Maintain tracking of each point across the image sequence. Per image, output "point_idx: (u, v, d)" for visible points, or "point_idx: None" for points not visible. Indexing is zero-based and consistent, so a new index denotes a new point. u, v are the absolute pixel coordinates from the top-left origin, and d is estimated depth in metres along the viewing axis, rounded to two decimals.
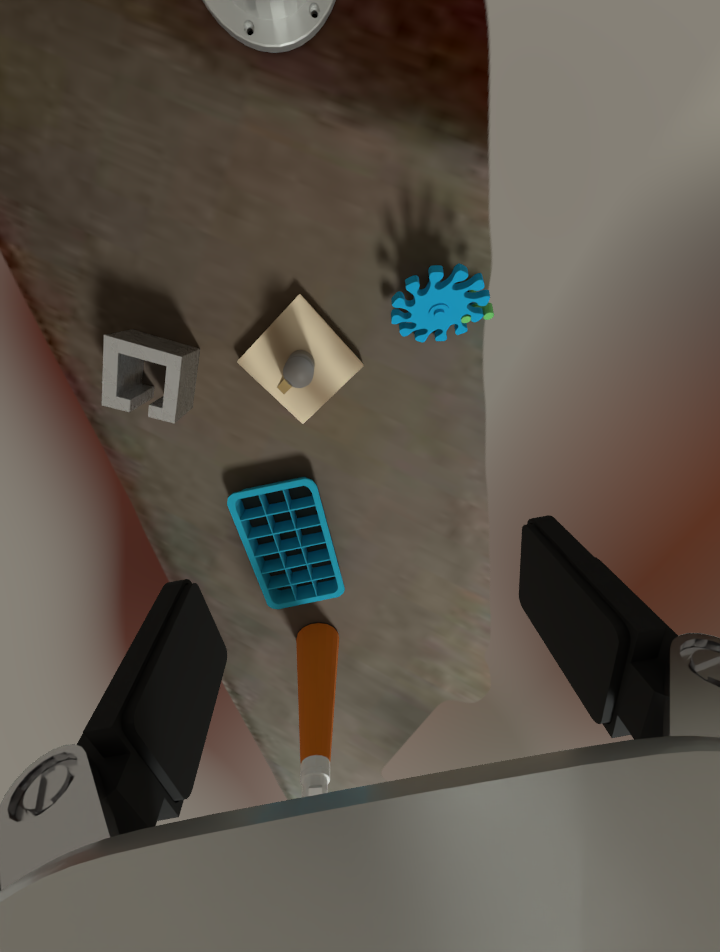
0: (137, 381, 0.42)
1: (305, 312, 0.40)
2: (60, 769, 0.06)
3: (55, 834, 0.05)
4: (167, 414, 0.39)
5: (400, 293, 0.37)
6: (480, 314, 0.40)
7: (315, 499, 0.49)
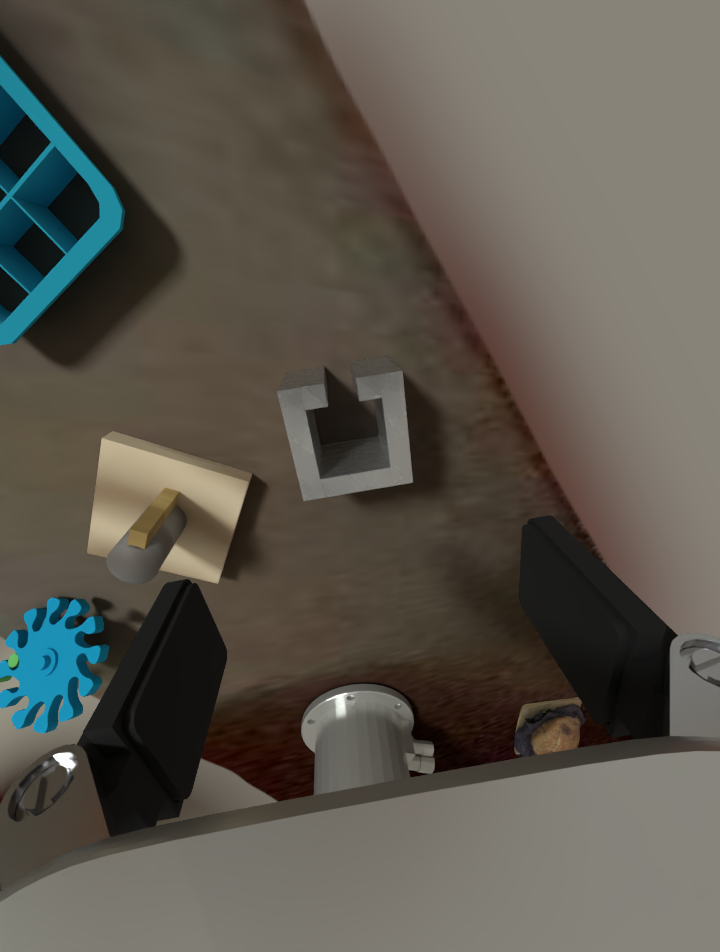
0: None
1: (199, 570, 0.31)
2: (60, 769, 0.06)
3: (55, 834, 0.05)
4: (294, 402, 0.21)
5: None
6: (0, 675, 0.31)
7: None
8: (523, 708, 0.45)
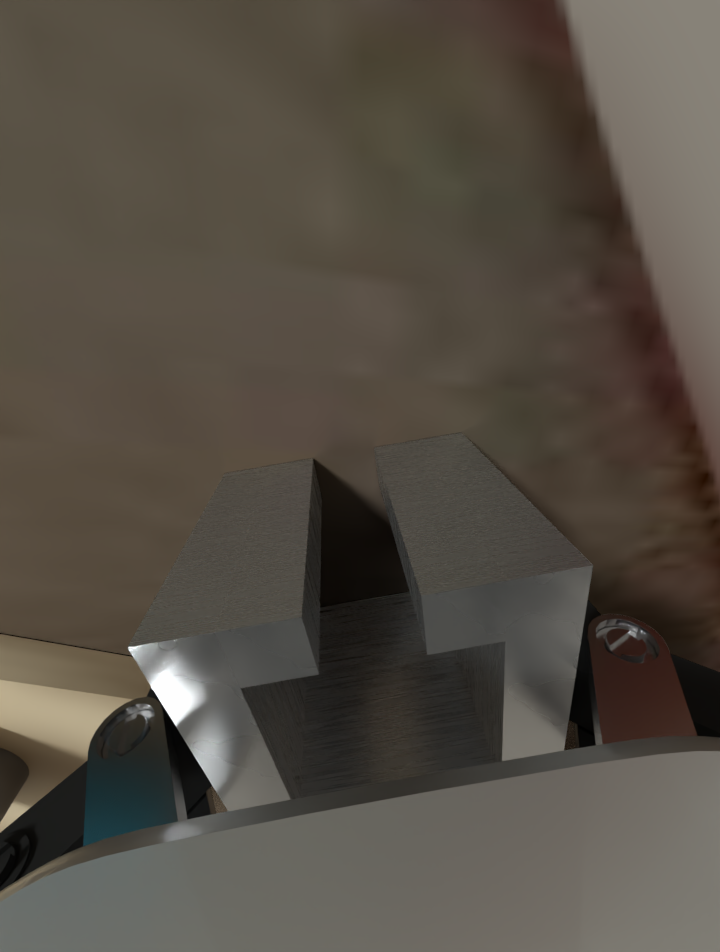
0: None
1: None
2: (140, 718, 0.07)
3: (130, 779, 0.06)
4: (197, 672, 0.06)
5: None
6: None
7: None
8: None
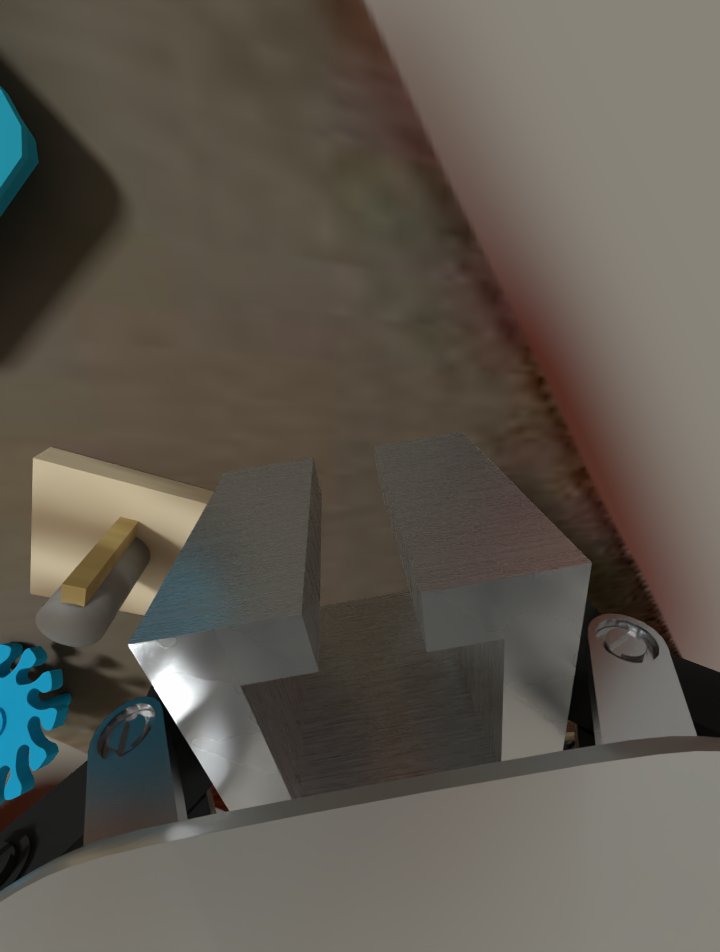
0: None
1: None
2: (140, 718, 0.07)
3: (131, 779, 0.06)
4: (197, 669, 0.06)
5: (56, 726, 0.25)
6: None
7: None
8: None
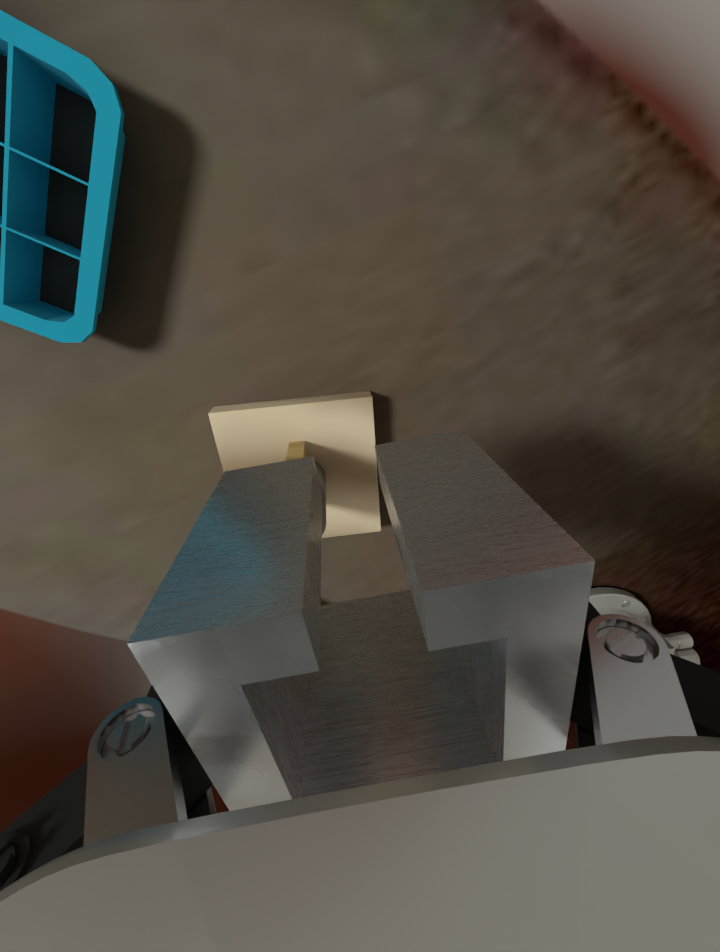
0: None
1: (357, 524, 0.27)
2: (140, 718, 0.07)
3: (131, 779, 0.06)
4: (197, 669, 0.06)
5: None
6: None
7: (20, 315, 0.19)
8: None
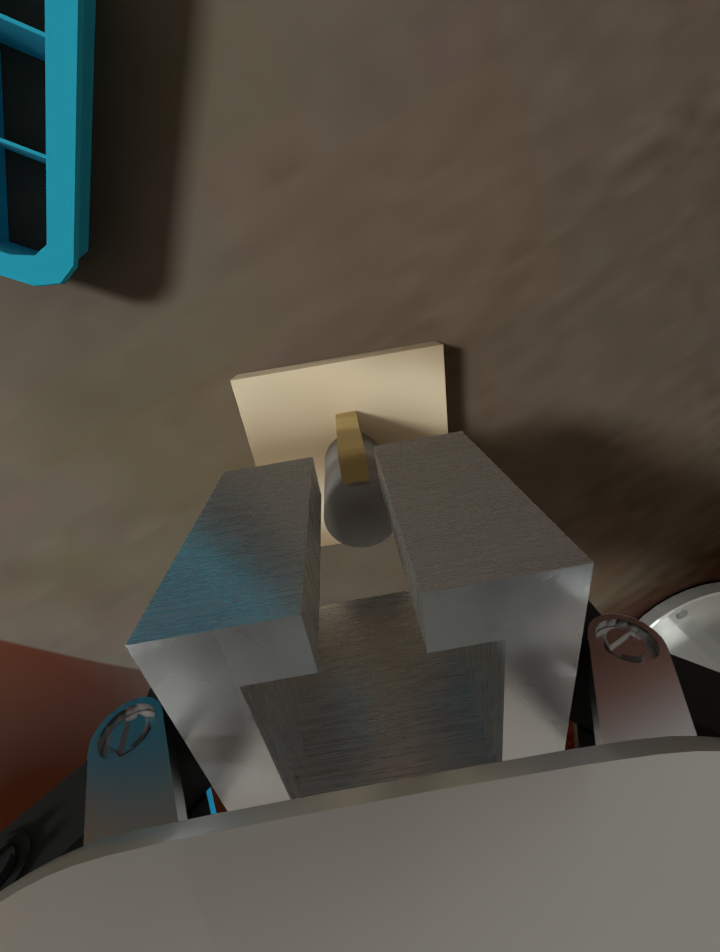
0: None
1: None
2: (140, 718, 0.07)
3: (131, 779, 0.06)
4: (195, 670, 0.06)
5: None
6: None
7: None
8: None
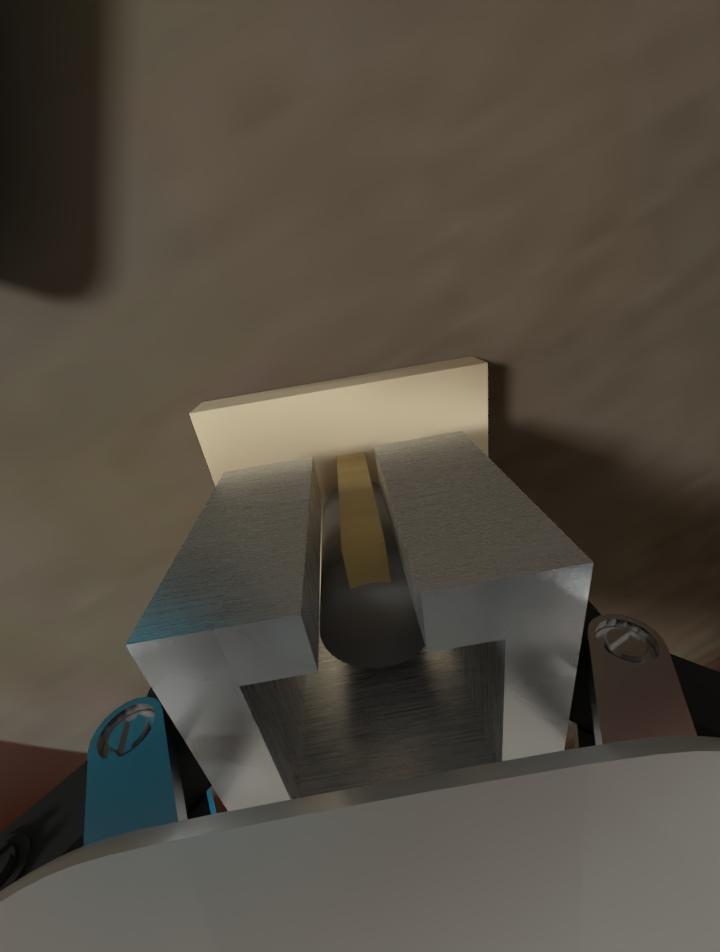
0: None
1: None
2: (140, 718, 0.07)
3: (131, 779, 0.06)
4: (195, 670, 0.06)
5: None
6: None
7: None
8: None
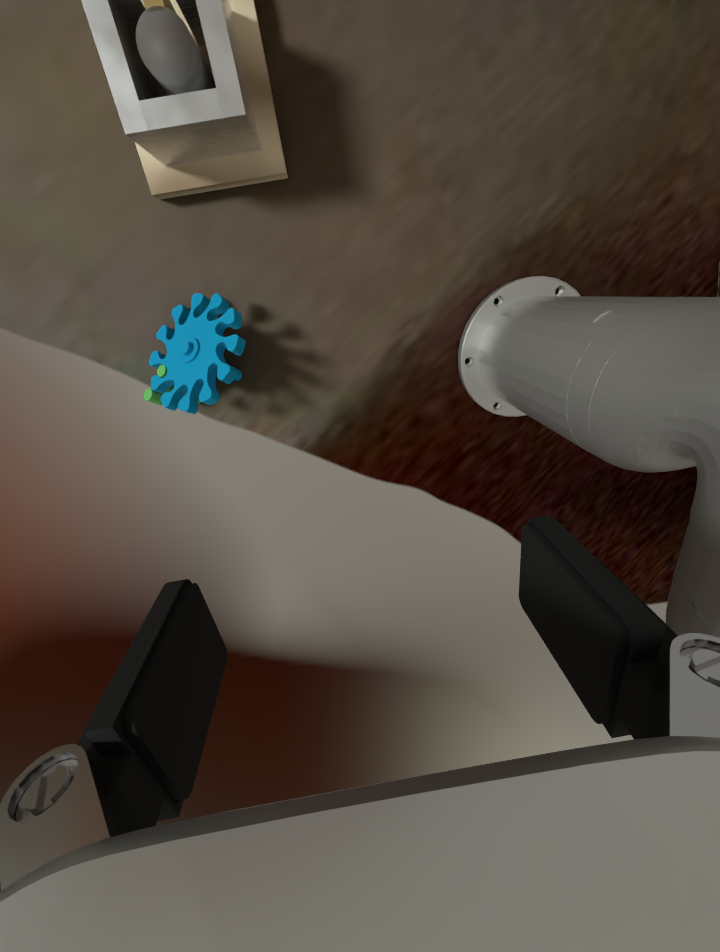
0: None
1: (260, 162, 0.27)
2: (60, 769, 0.06)
3: (55, 834, 0.05)
4: None
5: (237, 326, 0.29)
6: (154, 387, 0.32)
7: None
8: None
